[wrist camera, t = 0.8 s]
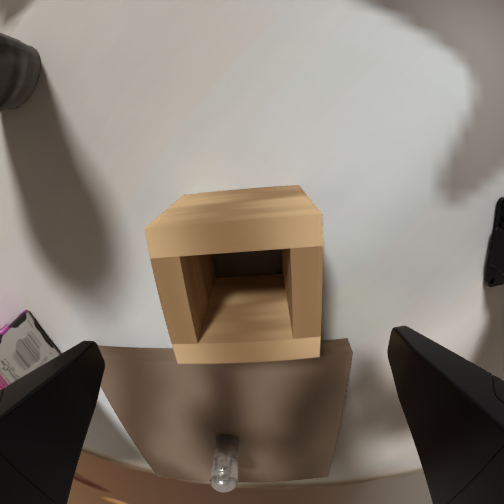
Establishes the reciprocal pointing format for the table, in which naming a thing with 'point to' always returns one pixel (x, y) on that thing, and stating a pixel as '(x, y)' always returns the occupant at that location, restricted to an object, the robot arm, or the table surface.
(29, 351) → the candy bar box
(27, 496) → the robot arm
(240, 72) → the table surface
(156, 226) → the oak collar
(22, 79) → the beverage cup
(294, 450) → the pin board
